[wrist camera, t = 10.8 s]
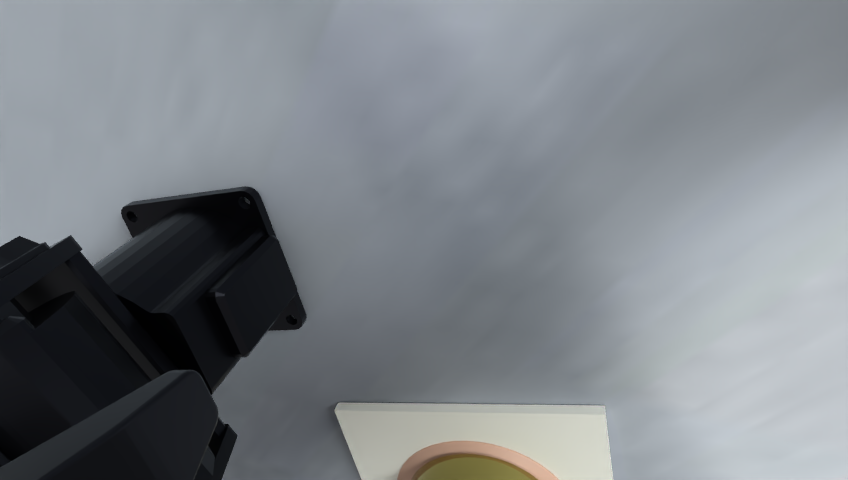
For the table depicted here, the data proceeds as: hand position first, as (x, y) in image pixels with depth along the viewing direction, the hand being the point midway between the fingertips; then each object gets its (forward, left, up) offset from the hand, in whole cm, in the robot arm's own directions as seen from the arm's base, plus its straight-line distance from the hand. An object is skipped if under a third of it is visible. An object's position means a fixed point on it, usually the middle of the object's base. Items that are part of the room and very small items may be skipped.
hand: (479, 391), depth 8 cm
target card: (-5, -18, -12) cm, 22 cm away
